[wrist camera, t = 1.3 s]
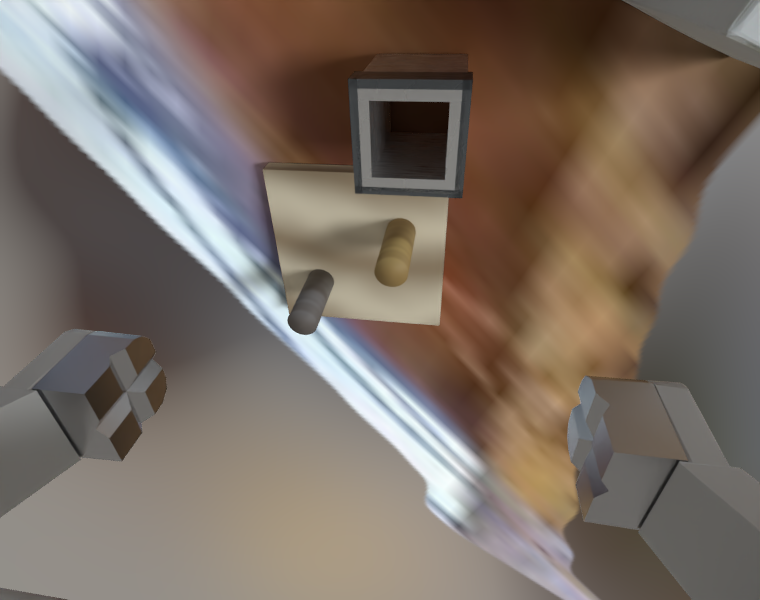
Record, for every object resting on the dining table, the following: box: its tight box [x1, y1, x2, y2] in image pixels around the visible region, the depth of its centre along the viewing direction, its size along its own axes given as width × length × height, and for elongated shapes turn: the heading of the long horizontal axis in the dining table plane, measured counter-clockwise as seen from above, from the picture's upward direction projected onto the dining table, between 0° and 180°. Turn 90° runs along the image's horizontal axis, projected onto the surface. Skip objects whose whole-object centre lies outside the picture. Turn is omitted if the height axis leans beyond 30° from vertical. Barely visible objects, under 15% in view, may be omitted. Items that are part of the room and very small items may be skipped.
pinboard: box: [263, 163, 448, 335], centre depth 31 cm, size 12×12×6 cm
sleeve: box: [348, 54, 473, 198], centre depth 24 cm, size 5×5×7 cm
